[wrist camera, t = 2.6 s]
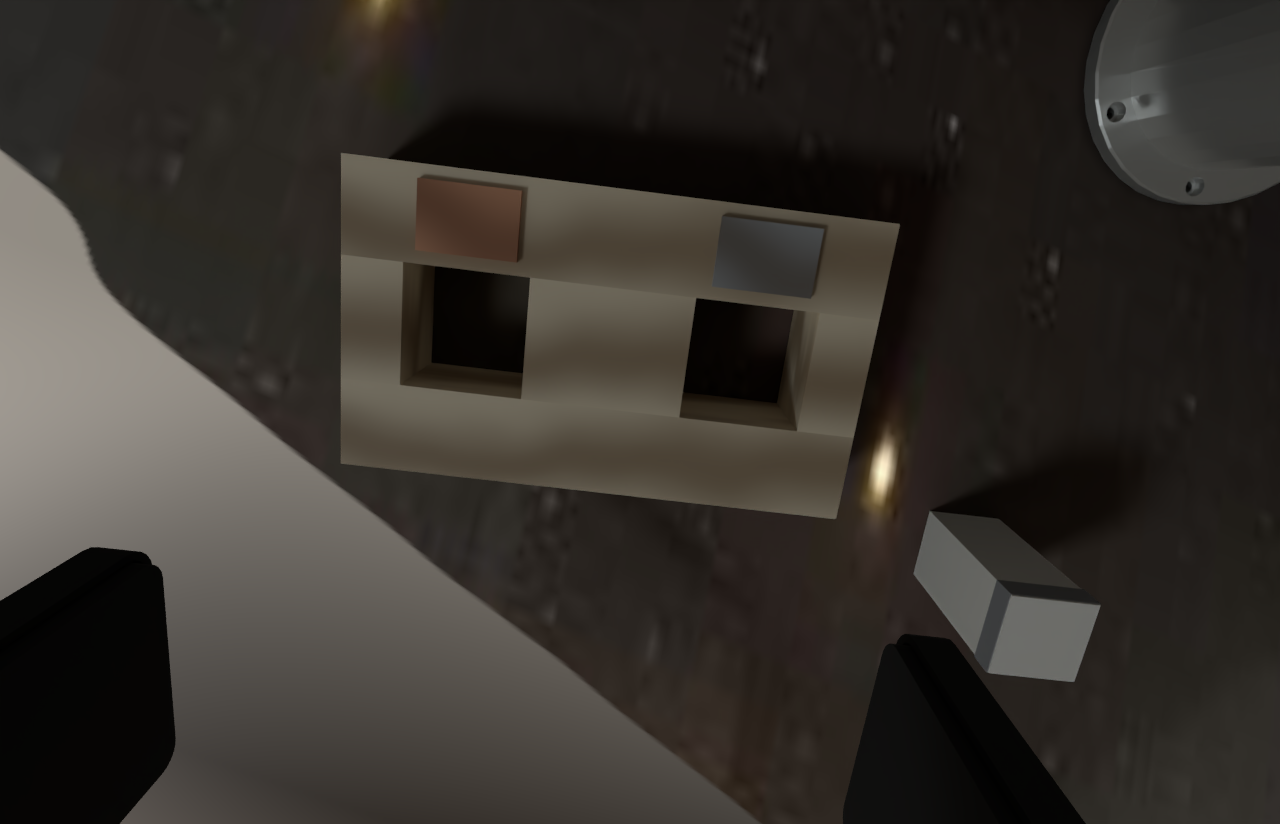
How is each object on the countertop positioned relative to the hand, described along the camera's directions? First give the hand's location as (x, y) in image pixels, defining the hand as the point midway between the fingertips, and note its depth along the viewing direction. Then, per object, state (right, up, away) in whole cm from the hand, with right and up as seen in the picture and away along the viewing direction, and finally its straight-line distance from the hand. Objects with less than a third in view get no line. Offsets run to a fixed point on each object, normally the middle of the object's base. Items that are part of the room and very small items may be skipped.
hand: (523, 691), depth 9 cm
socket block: (0, +8, +27) cm, 28 cm away
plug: (+20, -4, +31) cm, 37 cm away
